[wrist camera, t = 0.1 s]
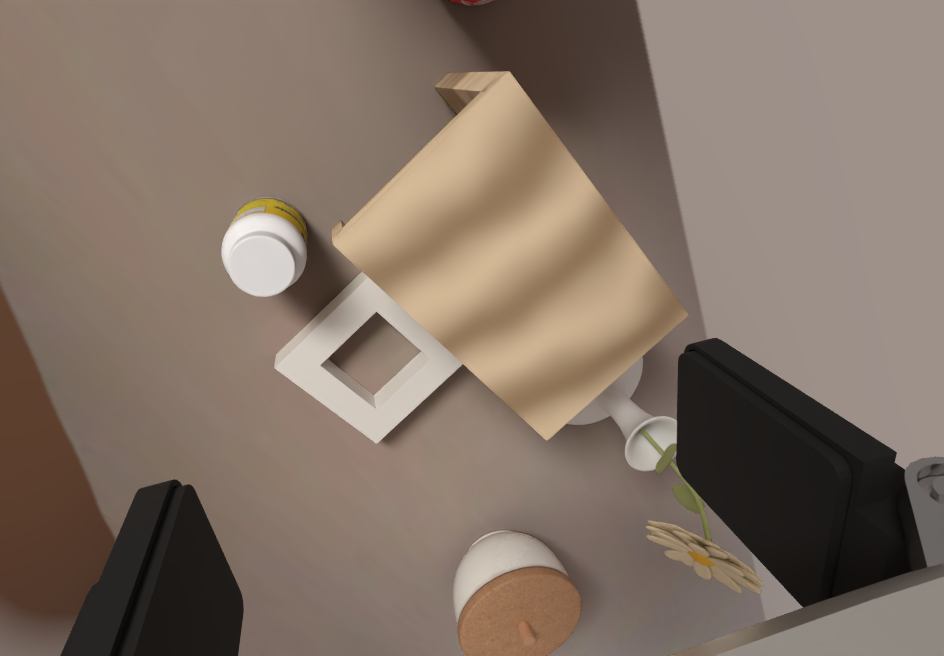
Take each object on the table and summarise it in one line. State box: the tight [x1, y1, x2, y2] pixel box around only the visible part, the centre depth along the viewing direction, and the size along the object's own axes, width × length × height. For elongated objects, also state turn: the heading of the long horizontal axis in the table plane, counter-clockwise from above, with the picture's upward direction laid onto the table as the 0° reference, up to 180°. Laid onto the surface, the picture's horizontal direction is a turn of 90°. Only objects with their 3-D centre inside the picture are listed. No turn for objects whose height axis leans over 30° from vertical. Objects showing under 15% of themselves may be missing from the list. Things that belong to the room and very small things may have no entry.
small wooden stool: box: [331, 71, 689, 441], centre depth 41 cm, size 20×13×15 cm, turn 41°
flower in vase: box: [567, 357, 763, 594], centre depth 46 cm, size 13×11×25 cm
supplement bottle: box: [222, 197, 308, 297], centre depth 40 cm, size 5×5×10 cm
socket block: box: [274, 272, 462, 444], centre depth 49 cm, size 12×12×2 cm
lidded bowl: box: [453, 530, 582, 656], centre depth 59 cm, size 13×13×11 cm
